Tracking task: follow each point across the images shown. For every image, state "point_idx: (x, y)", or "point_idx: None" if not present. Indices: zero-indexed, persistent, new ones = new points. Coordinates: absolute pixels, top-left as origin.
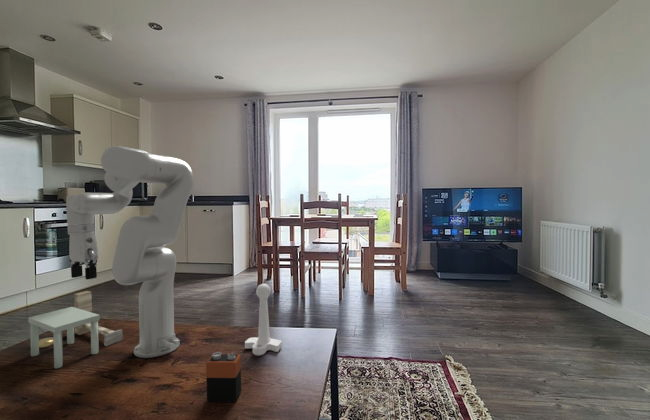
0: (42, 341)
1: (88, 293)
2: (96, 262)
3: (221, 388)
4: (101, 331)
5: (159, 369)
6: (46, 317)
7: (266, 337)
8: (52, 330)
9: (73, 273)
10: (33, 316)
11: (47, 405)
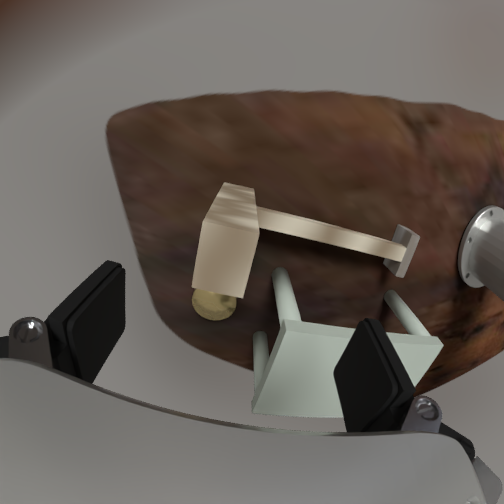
0: (214, 306)
1: (255, 248)
2: (461, 437)
3: None
4: (362, 251)
5: (499, 298)
6: (307, 402)
7: None
8: None
9: (112, 346)
10: (257, 407)
11: (418, 388)
